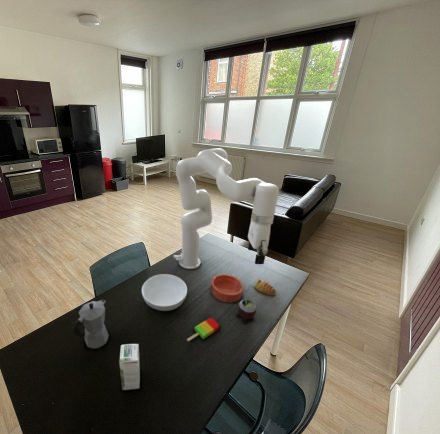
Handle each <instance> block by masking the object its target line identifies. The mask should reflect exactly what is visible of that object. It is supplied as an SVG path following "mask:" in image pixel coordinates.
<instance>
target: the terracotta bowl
mask: <svg viewBox="0 0 440 434" xmlns="http://www.w3.org/2000/svg"><path fill="white" fill-rule="evenodd" d="M240 283H241V284H242V286H243V287H244V285H243V282H242V281H241V280H240V279H239V278H238V277H236V276H234V275H232V274H225V273H222V274H217V275H215V276H214V277H213V278H212V279H211V285H210V291H211V294H212V295H213V296H214V297H215V298H216V299H217V300H219V301H220V302H223V303H230V304H231V303H236V302H238V301H239V300H240V299H241V298H242V296H243V293H244V292H243V288H242V286H241V285H240Z"/></svg>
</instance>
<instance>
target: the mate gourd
mask: <svg viewBox="0 0 440 434" xmlns="http://www.w3.org/2000/svg"><path fill="white" fill-rule="evenodd" d="M242 284H243V283H242ZM242 284H241V283H240V285H241V286H242ZM242 288H243V292H242V293H243V295H244V296H243V297H244V299H243V300H241V301H240V302H239V303H238V306H237V317H239V318H242V319H243V323H244V324H247V320H250V321H254V317H255V316H256V313H257V306H256V304H255V303H254V302H253V301H252V300H251V299H247V294H246V289H245V287H244V285H243V286H242Z"/></svg>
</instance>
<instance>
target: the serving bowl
mask: <svg viewBox="0 0 440 434" xmlns="http://www.w3.org/2000/svg"><path fill="white" fill-rule="evenodd" d="M141 295H142V298H143V301H144V302H145V303H146V304H147V306H149V307H150V308H151V309H154V310H155V311H159V312H160V311H161V312H169V311H173V310H175V309H177V308H178V307H180V306H181V305H182V304H183V303H184V301H185V300H186V298H187V295H188V287H187V284H186V283H185V281H184V280H183V279H182V278H180V277H179V276H176V275H174V274H168V273H161V274H160V273H159V274H156V275H153V276H150V277H149V278H148V279H146V280H145V282H144V283H143V284H142V286H141Z"/></svg>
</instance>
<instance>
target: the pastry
mask: <svg viewBox="0 0 440 434" xmlns="http://www.w3.org/2000/svg"><path fill="white" fill-rule="evenodd" d="M254 288H255V289H256V291H258V292H260V293H262V294H264V295H268V296H274V295H275V294H276V292H277V290H276V289H275V288H274V286H273V285H272V284H271V283H269V282H268V281H266V280H262V279H260V278H259V279H258V280H257V281H256V282H255V284H254Z"/></svg>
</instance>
